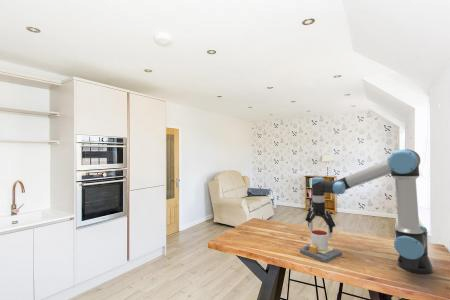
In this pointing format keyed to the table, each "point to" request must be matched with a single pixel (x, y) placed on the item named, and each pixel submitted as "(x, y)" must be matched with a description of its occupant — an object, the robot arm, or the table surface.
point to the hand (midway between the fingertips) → (320, 234)
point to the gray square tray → (321, 254)
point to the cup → (319, 239)
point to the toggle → (313, 249)
